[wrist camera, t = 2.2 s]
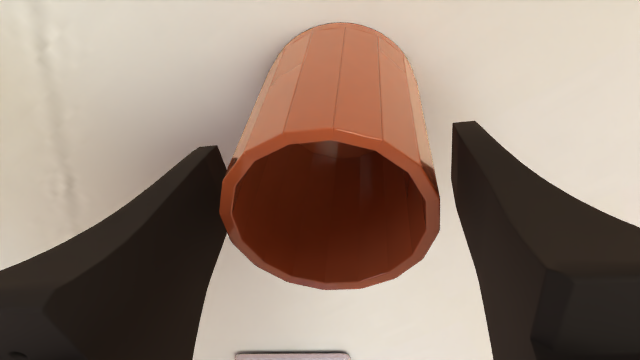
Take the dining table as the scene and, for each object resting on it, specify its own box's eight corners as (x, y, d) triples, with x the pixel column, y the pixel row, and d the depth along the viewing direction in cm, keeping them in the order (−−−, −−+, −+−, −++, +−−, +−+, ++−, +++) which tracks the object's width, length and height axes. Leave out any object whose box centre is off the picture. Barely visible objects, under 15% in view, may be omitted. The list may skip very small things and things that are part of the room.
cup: (417, 149, 18) (439, 287, 12) (285, 161, 19) (252, 292, 13) (413, 11, 14) (440, 117, 9) (251, 33, 15) (187, 141, 10)
